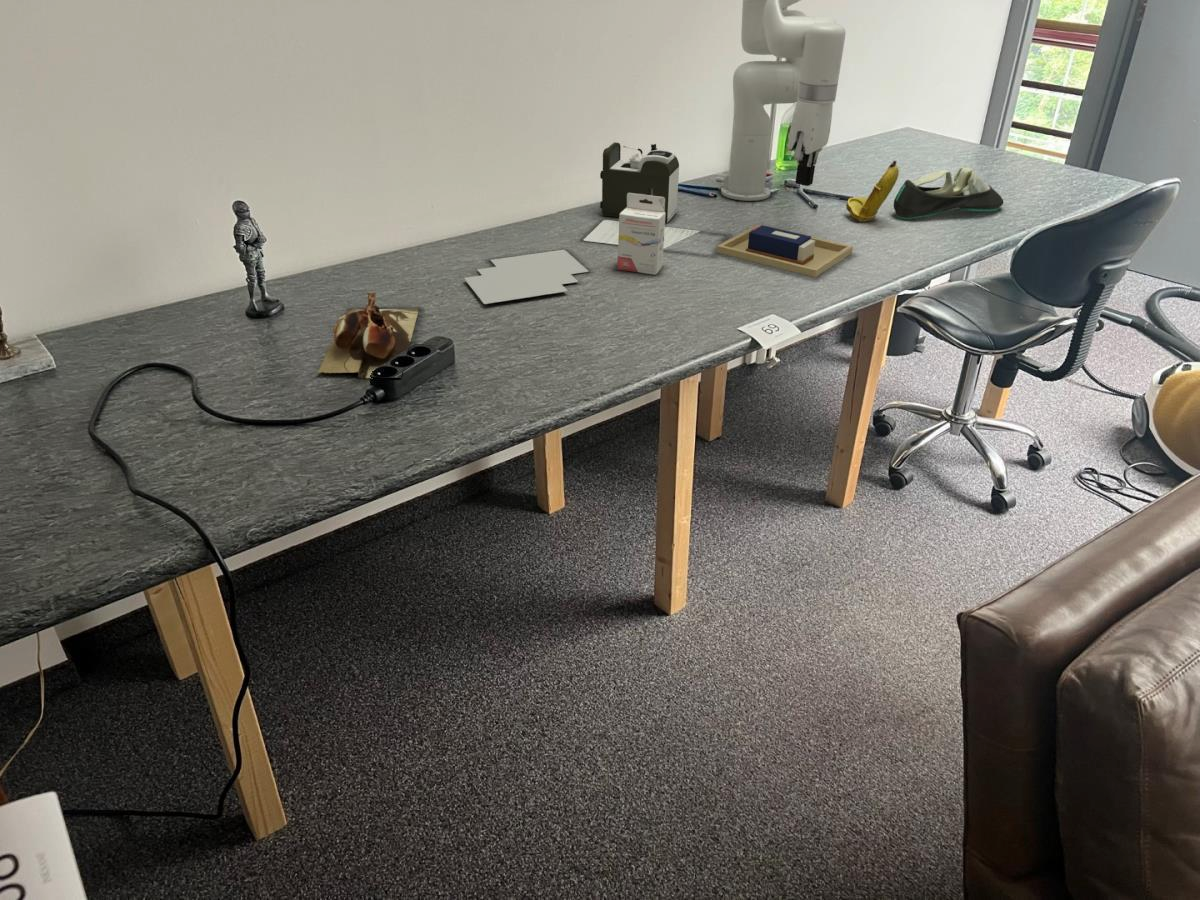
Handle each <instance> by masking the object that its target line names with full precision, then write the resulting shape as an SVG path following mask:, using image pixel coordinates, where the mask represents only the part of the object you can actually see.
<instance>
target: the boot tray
mask: <svg viewBox="0 0 1200 900" xmlns="http://www.w3.org/2000/svg"><path fill="white" fill-rule="evenodd" d="M760 226H761V224H756V225H754V226H753V227H750V228H748V229H747V230H745V231H743V232H741V233H739V234H737V235H735V236H733V237H731V238H729V239H727V240H725V241H723V242H722V243H719V244H717V246H716V254H720V255H723V256H728V257H732V258H736V259H739V260H743V261H747V262H751V263H755V264H760V265H764V266H768V267H771V268H776V269H780V270H783V271H786V272H791V273H795V274H799V275H803V276H806V277H810V278H814V279H815V278H817V277H818V276H820V275H821V274H823V273H825V272H827V271H828V270H829V269H830V268H832V267H834V266H835V265H837V264H838V263H840V262H841V261H843V260H844V259H846V258H847V257H849V256H850V255H852V254H853V249H854V246H853V245H849V244H844V243H841V242H836V241H831V240H828V239H823V238H818V237H813V236H811V240H815V246H814V253H813V254H814V258H813V259H812V260H810V261H809V262H807V263H806V264H804V265H800V264H796V263H792V262H788V261H784V260H780V259H775V258H771V257H767V256H763V255H759V254H755V253H751V252H747V251H746V249H747V248H748V241H749V232H751V230H752V229H754V228H755V227H760Z"/></svg>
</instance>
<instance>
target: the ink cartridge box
mask: <svg viewBox="0 0 1200 900" xmlns="http://www.w3.org/2000/svg"><path fill="white" fill-rule="evenodd" d="M644 199H647V200H648V201H652V202H653V203H652V204H646V203H640V202H639V200H644ZM665 214H666V213H665V198H664V197H659V196H652V195H644V194H634V193H628V194H627V208H625V209H624V210H623V211H622V212H621V213H620V214H619V217H618V221H619V238H618V245H617V270H619V271H628V272H635V273H642V274H646V275H648V274H649V275H652V276H653V275H654V276H656V275H658V273H659V272H660V270H661V269H662V268H663V263H664V249H663V247H664V230H665V227H666V222H665Z"/></svg>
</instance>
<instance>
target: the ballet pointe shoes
mask: <svg viewBox="0 0 1200 900" xmlns="http://www.w3.org/2000/svg"><path fill="white" fill-rule="evenodd" d="M366 294H367V300H366V305H365V308H364V309H361V308H360V309H349V310H348V312H347V313H344V314H343V315H342V316H340V317H339V318H338V319H336V325H335V326H334V327H333V329H332V331H333V339H332V341H331V343H330V346H329V347H328V350H327V352H326V353H325V355H324V358H323V359H322V363H320V367H319V368H318V370H317V371H316V372H317V374H321V373H324V374H332V373H333V374H336V373H337V374H342V373H343V374H344V373H349V374H350V373H353V374H354V373H357V377H358V379H372V378H371V377H370V375H371V373H372V371H374V370H375V369H376V368H378V367H379V366H380V365H382V364H384V363H386V362H388V361H389V360H390V359H391V358H393V357H395V356H396V355H398V354H400V353H401V352H403V351H405V350H407V349H409V350H410V344H411V343H412V338H413V334H414V330H415V326H416V321H417V318H418V316H419V315H418V314H419V309H420V308H419V307H413V308H412V307H409V308H408V307H405V308H403V307H402V308H380V306H377V305H375V304H376V298H377V297H376V295H377V294H376V292H374V291H366Z"/></svg>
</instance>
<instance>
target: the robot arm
mask: <svg viewBox="0 0 1200 900" xmlns="http://www.w3.org/2000/svg"><path fill="white" fill-rule="evenodd" d="M800 1H801V0H742V8H741V9H742V10H741V14H742V15H741V34H740V39H741V47H742V50H743V52H745V53H747V54H750V55H756V56H757V55H758V56H760V55H761V56H774V57H775V58H778V59H785V60H754V61H747V62H743V63H742V64H740V65H739V66H737V68H736V69H735V70H734V73H733V76H732V94H733V116H732V117H733V119H732V130H731V131H732V132H731V143H730V152H729V153H730V154H729V166H728V173H725V172H720V171H718V172H717V173H716V175H715V182H717V183H722V184H723V186H722V187H721V188H720V194H721V195H722V196H723V197H724V198H727V199H730V200H734V201H742V202H756V201H757V202H758V201H764V200H766V199H769V197H770V196H771V189H770V188H768V187H766V182H767V172H768V162H769V155H770V146H771V137H772V129H773V128H772V127H773V125H772V119H771V118H770V115H769V114H768V112H767V111H766V110H765V108H764V106H765V105H773V104H775V105H778V104H779V105H780V104H781V105H783V104H784V105H785V104H795V103H796V104H795V106H794V112H793V114H792V119H791V124H790V129H789V134H788V140H787V151H789V152H793V151H794V155H793V160H794V161H796V165H797V167H796V173H795V174H796V175H795V184H796V185H800V186H805V187H809V186H811V185H812V184H813V183H814V176H815V169H816V164H817V162H818V158H819V154H820V152H821V151H822V150H823V148H824V147H826V146H827V144H828V143H829V140H830V133H831V127H832V120H833V107H834V103H835V102H836V97H837V91H838V84H839V79H840V73H841V65H842V59H843V53H844V48H845V47H844V46H845V40H846V28H845V27H844V26H843V25H842V24H839V23H838V22H837V21H836V19H834V18H833V17H830V16H824V15H823V16H819V15H818V16H811V15H806V13H804V12H803V11H802V10H798V9H797V10H796V9H786V8H788V7H790V6H792V5H794V4H797V3H799V2H800Z"/></svg>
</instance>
